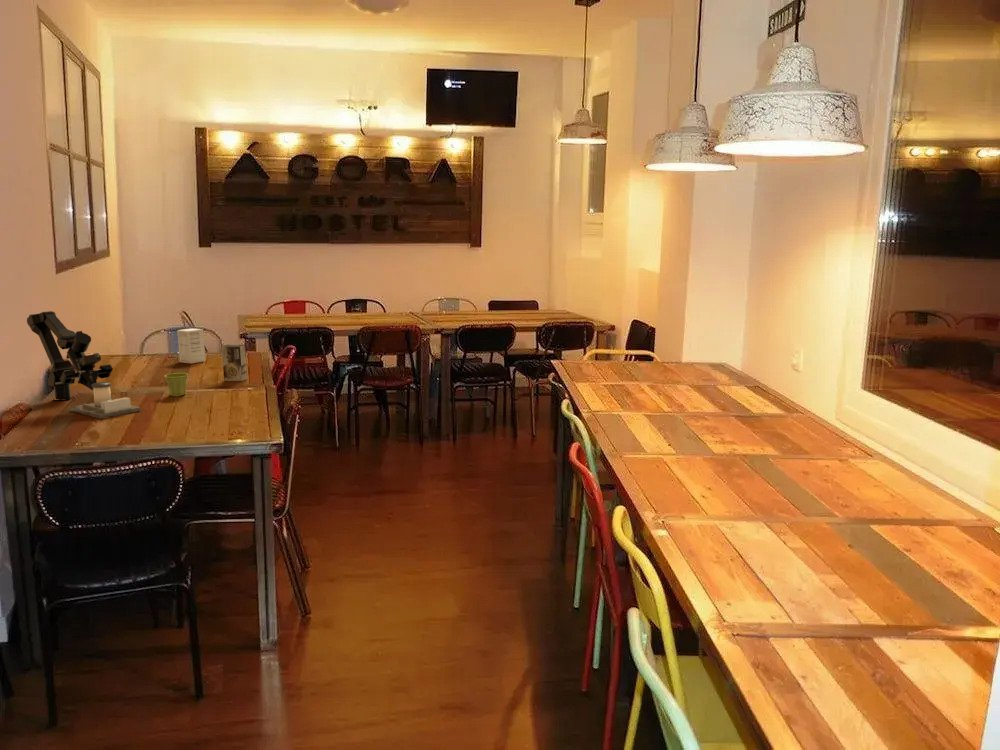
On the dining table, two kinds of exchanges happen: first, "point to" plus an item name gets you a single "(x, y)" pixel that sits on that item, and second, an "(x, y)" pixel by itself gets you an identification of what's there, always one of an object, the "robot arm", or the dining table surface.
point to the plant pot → (177, 383)
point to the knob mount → (107, 408)
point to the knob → (101, 392)
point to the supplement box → (191, 345)
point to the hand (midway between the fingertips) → (96, 390)
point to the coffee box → (234, 362)
